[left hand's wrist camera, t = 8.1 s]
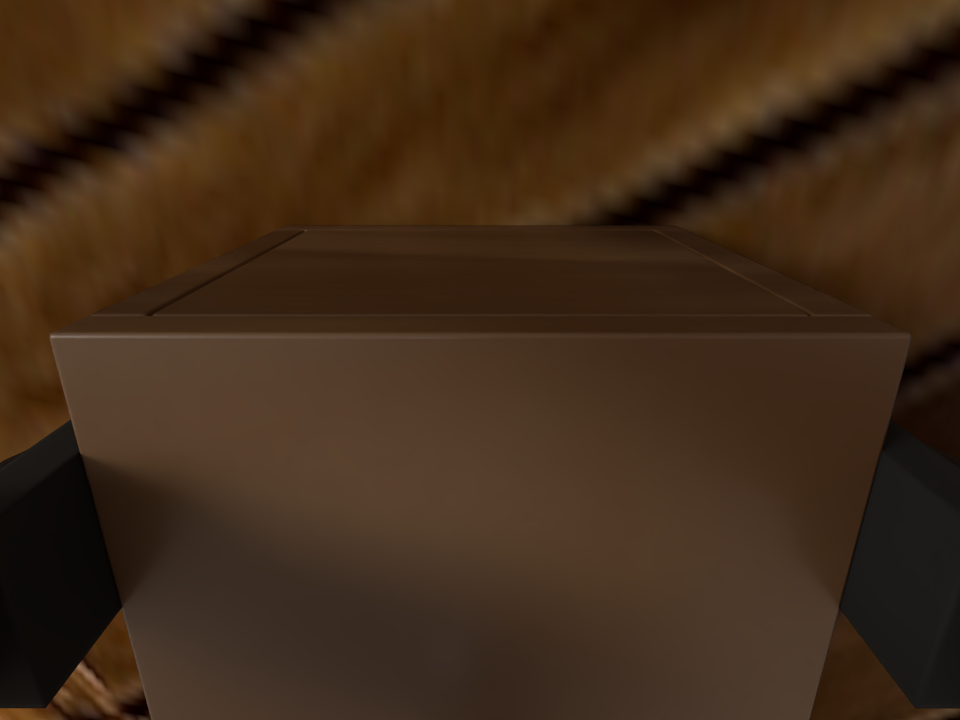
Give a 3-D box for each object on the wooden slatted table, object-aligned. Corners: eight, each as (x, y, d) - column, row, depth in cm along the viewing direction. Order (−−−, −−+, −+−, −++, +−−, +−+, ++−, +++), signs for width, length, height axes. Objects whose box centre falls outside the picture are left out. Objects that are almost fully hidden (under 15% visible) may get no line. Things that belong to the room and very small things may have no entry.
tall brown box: (622, 698, 23) (716, 1070, 14) (338, 697, 23) (243, 1070, 14) (676, 225, 17) (916, 332, 7) (284, 225, 17) (43, 332, 7)
